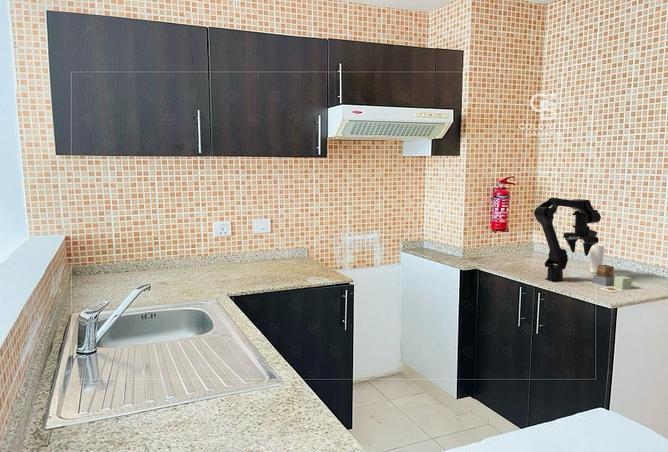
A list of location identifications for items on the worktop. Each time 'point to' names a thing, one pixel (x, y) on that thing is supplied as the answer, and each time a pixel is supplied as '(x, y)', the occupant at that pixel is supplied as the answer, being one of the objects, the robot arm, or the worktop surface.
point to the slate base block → (603, 280)
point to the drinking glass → (596, 257)
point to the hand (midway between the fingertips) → (579, 254)
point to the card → (611, 289)
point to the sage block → (622, 282)
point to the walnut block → (605, 271)
